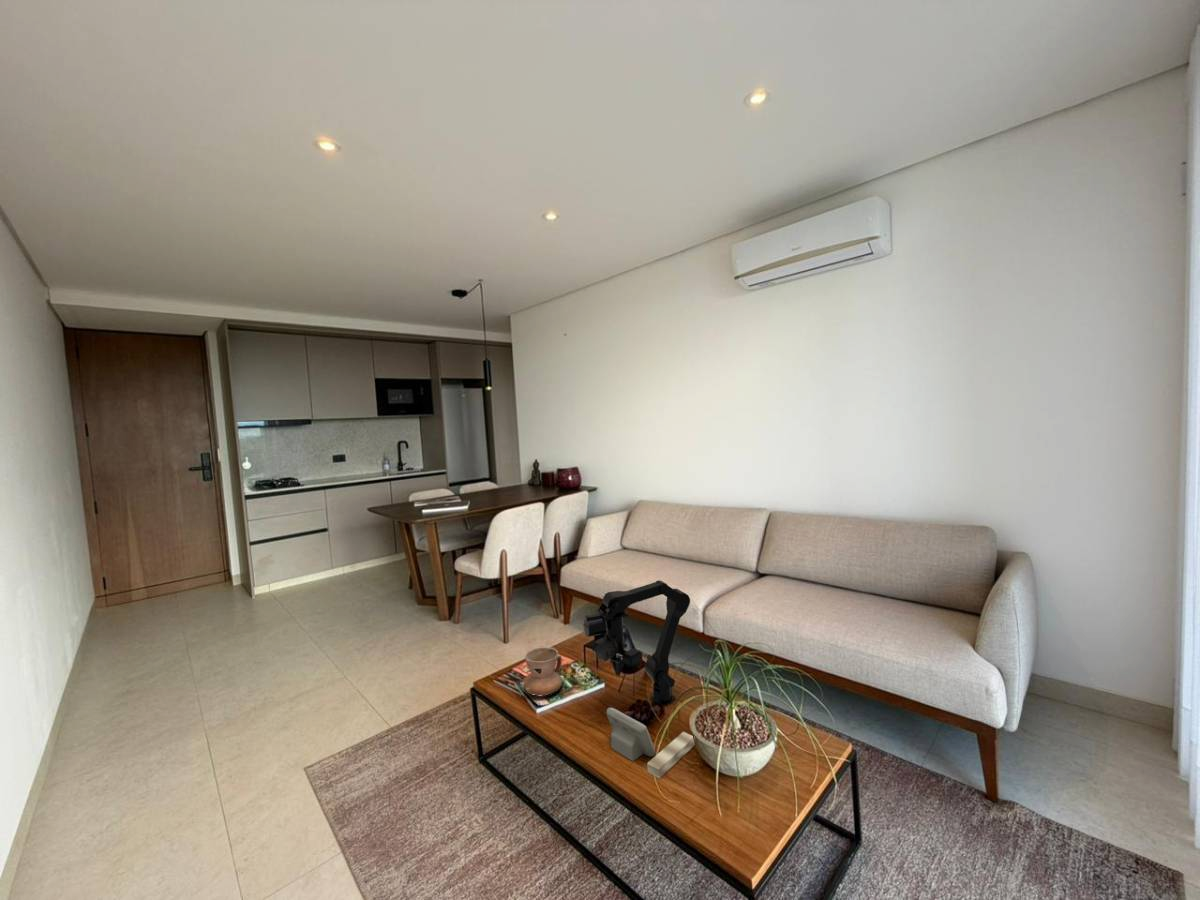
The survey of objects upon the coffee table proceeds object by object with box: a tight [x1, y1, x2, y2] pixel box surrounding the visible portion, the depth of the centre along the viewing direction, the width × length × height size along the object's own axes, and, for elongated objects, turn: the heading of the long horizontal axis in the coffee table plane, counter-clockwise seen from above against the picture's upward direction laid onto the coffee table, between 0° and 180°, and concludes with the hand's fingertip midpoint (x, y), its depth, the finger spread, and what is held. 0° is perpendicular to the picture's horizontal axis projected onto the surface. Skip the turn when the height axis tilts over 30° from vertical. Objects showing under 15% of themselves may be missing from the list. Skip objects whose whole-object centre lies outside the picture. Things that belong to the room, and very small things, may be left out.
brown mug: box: [522, 646, 563, 695], centre depth 185 cm, size 18×14×14 cm
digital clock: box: [606, 707, 656, 762], centre depth 149 cm, size 16×9×11 cm, turn 32°
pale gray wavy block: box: [646, 731, 696, 779], centre depth 143 cm, size 18×4×3 cm, turn 137°
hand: (618, 675), depth 168 cm, fingers closed
